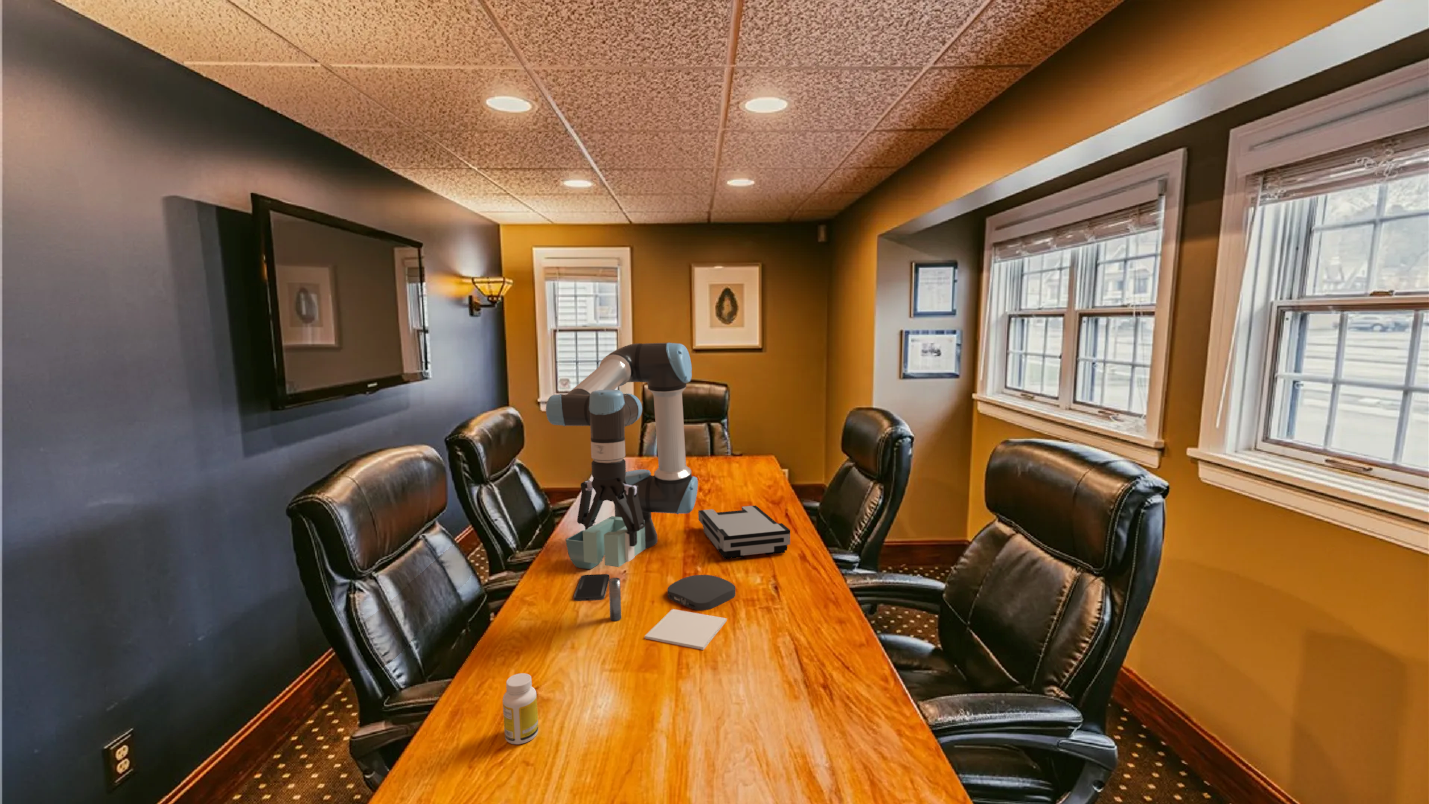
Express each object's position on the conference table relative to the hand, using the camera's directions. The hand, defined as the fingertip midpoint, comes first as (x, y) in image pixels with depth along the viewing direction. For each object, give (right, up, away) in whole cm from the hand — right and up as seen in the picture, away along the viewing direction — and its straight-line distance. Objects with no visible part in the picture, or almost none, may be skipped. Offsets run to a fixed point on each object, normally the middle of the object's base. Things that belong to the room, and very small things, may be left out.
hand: (611, 556), depth 137 cm
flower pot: (-14, -13, +39) cm, 43 cm away
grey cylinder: (0, -16, +5) cm, 17 cm away
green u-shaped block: (+1, 0, +2) cm, 2 cm away
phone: (-9, -15, +23) cm, 29 cm away
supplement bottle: (-9, -21, -36) cm, 43 cm away
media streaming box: (+20, -15, +18) cm, 31 cm away
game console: (+32, -10, +58) cm, 67 cm away
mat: (+17, -16, 0) cm, 24 cm away
